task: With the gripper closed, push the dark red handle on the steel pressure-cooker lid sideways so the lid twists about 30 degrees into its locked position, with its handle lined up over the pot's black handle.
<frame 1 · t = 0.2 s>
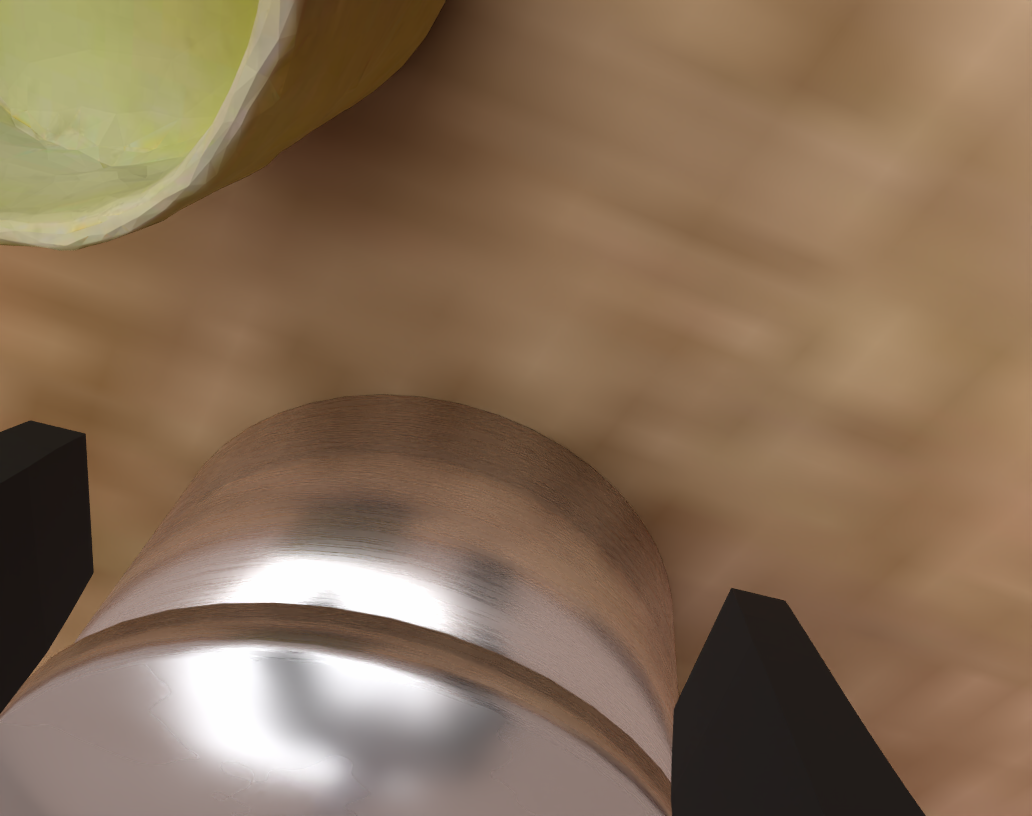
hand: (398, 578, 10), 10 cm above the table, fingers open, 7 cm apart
cooker pot: (416, 613, 24), on the table
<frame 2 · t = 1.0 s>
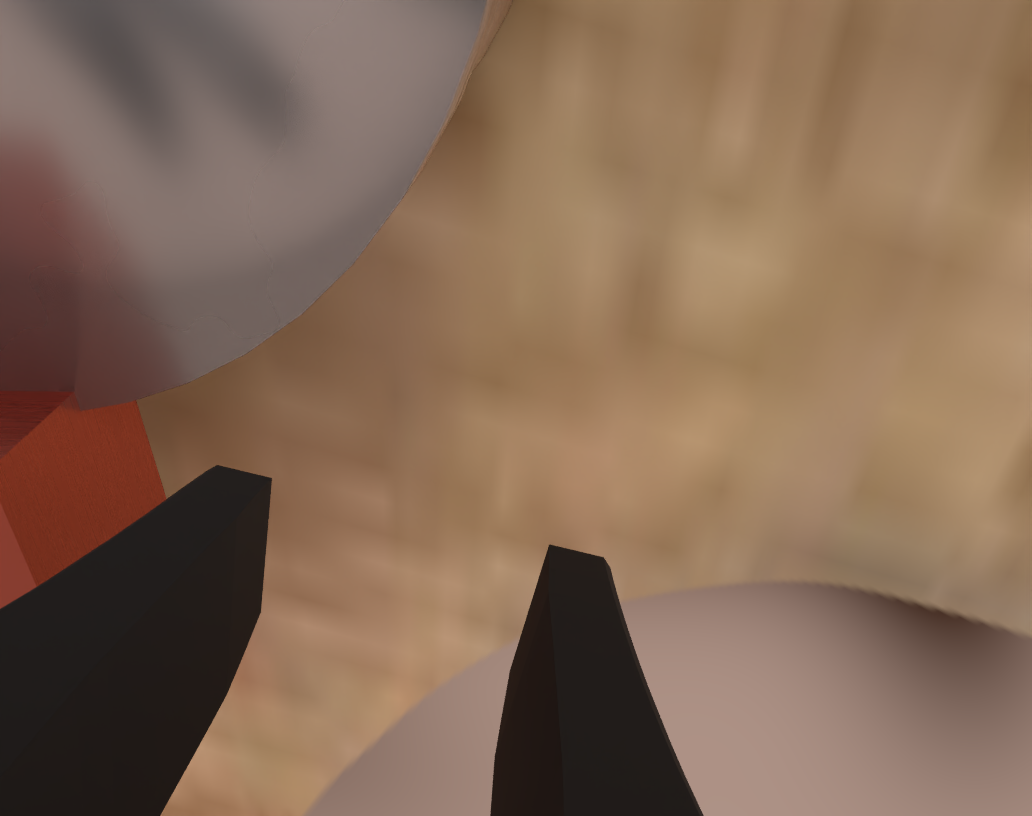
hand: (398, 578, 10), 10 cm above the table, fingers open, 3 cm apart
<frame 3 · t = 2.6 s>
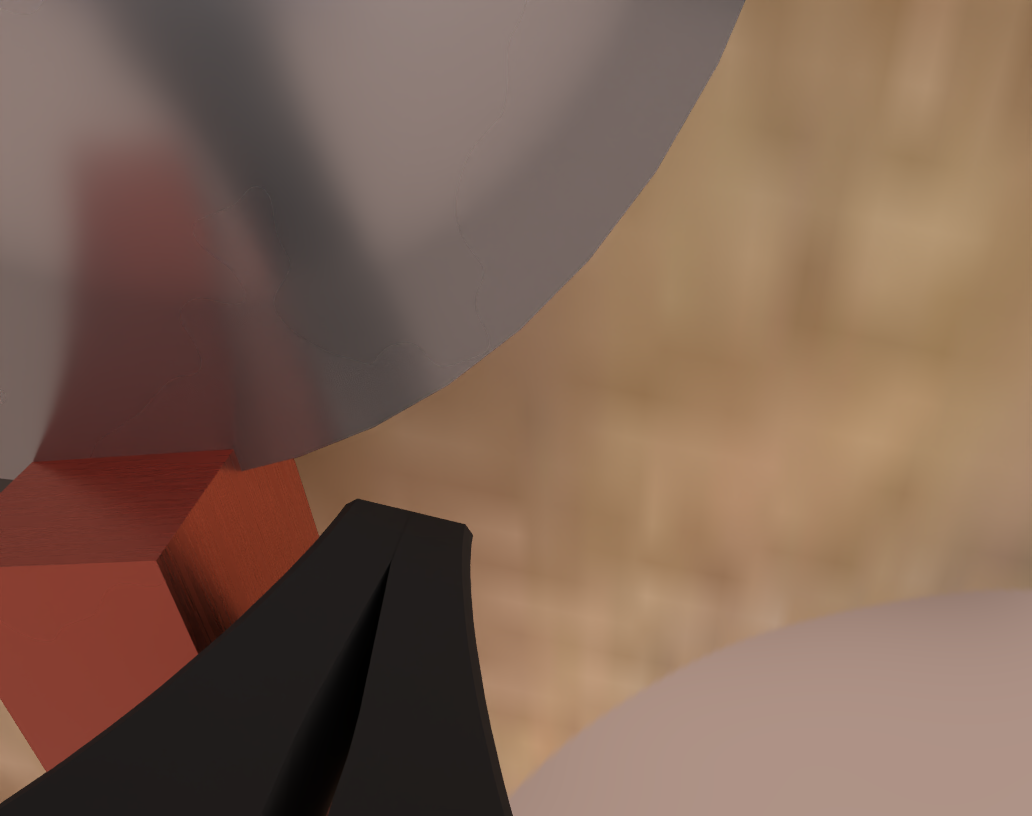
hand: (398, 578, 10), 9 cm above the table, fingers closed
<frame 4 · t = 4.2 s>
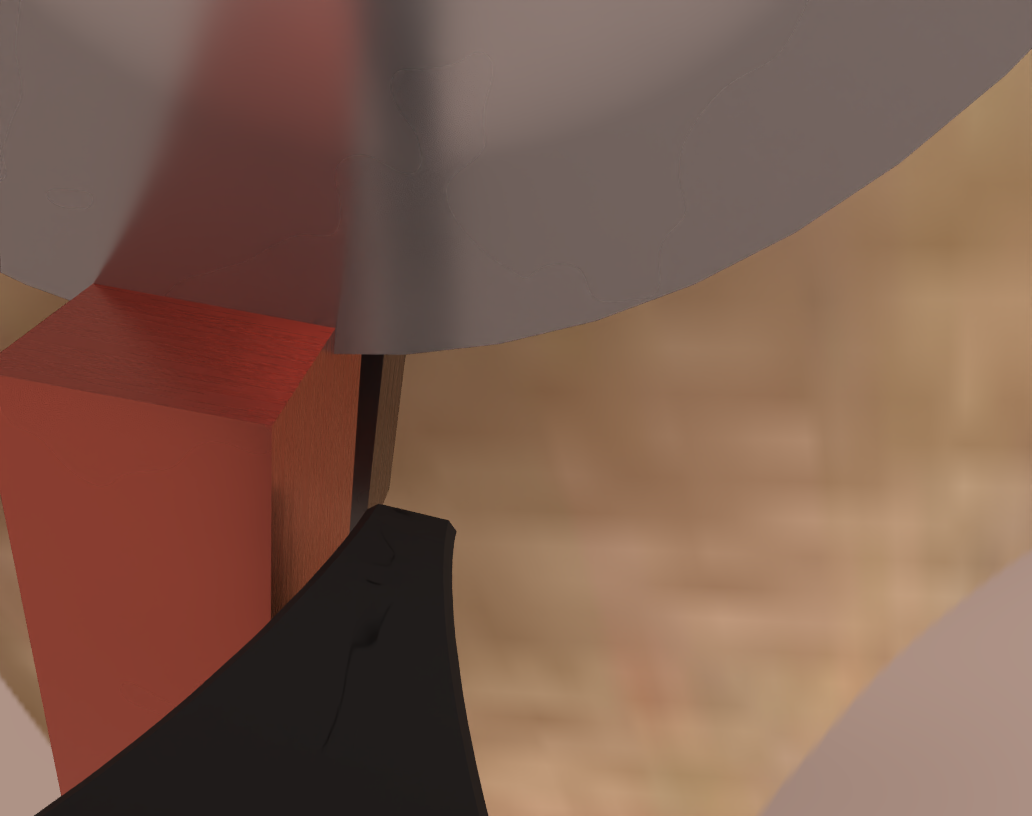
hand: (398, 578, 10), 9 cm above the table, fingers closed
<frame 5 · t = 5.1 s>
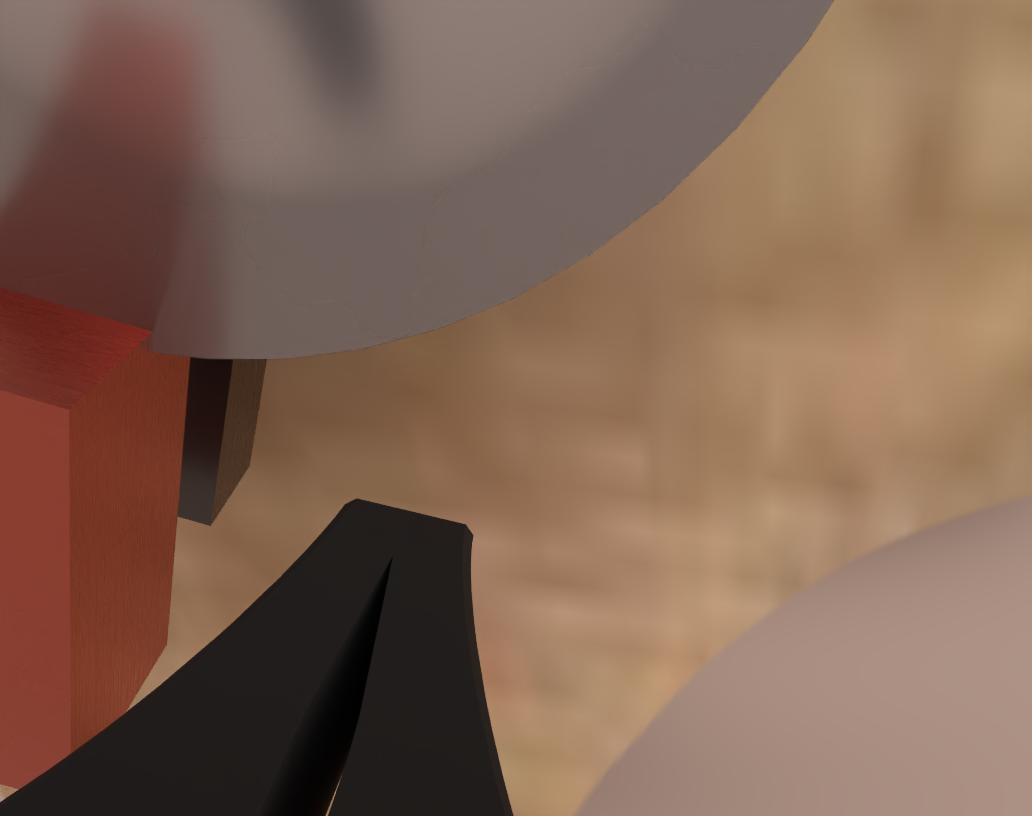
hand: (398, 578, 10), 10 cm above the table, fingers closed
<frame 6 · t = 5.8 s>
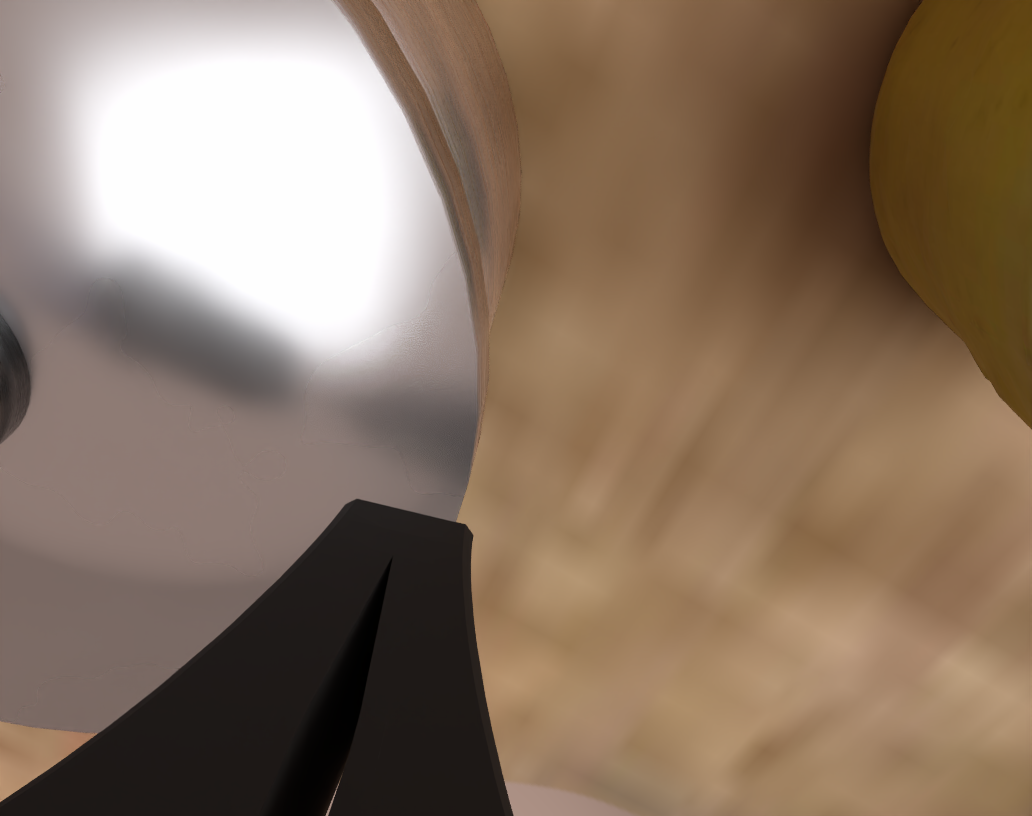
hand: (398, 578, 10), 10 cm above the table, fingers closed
cooker pot: (193, 170, 18), on the table
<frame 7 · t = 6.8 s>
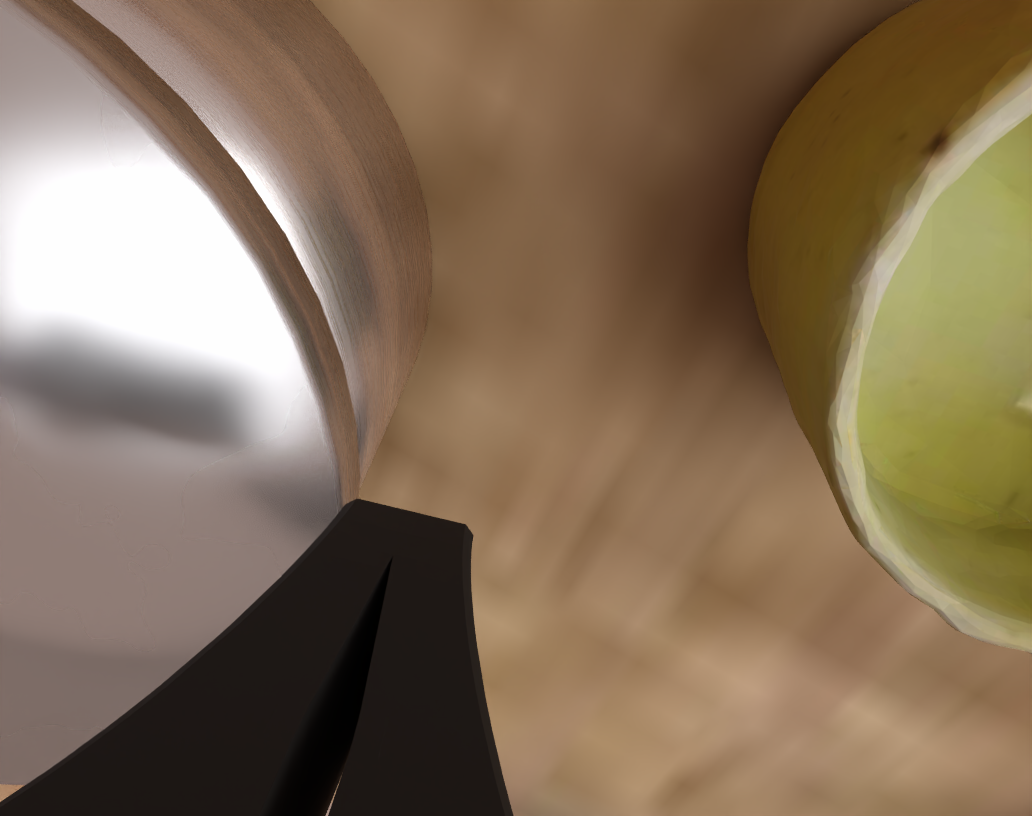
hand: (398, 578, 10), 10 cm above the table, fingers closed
cooker pot: (124, 242, 19), on the table
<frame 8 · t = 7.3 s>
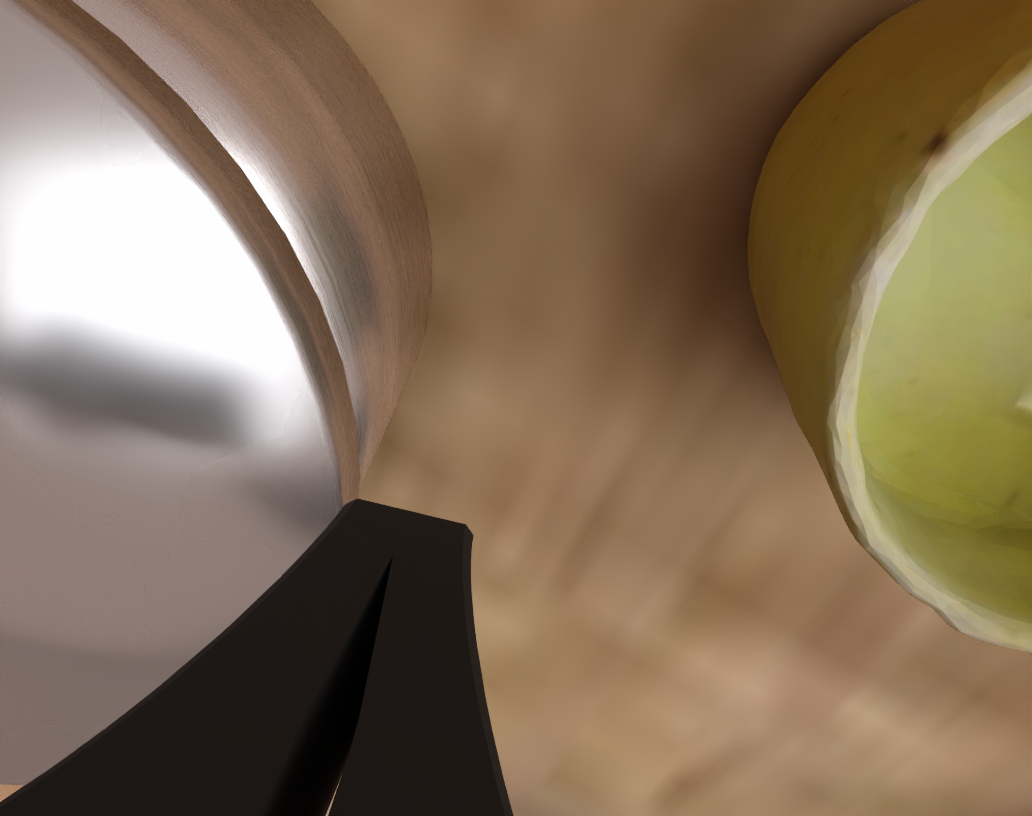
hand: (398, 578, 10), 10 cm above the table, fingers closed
cooker pot: (124, 242, 19), on the table
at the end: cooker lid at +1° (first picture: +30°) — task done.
